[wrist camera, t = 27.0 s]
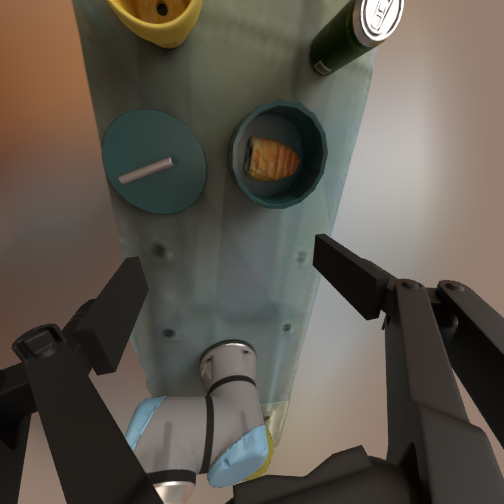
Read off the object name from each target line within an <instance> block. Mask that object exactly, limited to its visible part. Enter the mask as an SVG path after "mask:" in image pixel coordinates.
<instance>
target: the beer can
mask: <svg viewBox="0 0 504 504" xmlns="http://www.w3.org/2000/svg"><path fill="white" fill-rule="evenodd" d="M403 2H404V0H350V1H349V2H348V3H347V4H346V5H345V6H344V7H343V8H342V9H341V10H340V11H339V12H338V14H337V15H336V16H335V17H334V18H333V19H332V20H331V21H330V22H329V23H328V24H327V25H326V26H325V27H324V28H323V29H322V30H321V31H320V32H319V33H318V34H317V36H316V37H315V38H314V40H313V43H312V45H311V51H310V61H311V65H312V67H313V69H314V70H315V71H316V72H317V73H319V74H321V75H330V74H331V73H333V72H335V71H336V70H338V69H340V68H341V67H343V66H345V65H346V64H348V63H350V62H351V61H353V60H355V59H356V58H358V57H360V56H361V55H363V54H364V53H366V52H368V51H369V50H371V49H373V48H374V47H376V46H378V45H379V44H381V43H382V42H384V40H385V39H386V38H387V37H388V36H389V35H390V34H391V33H392V32H393V31H394V30H395V28H396V26H397V24H398V22H399V20H400V18H401V14H402V10H403Z"/></svg>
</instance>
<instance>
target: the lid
mask: <svg viewBox="0 0 504 504" xmlns="http://www.w3.org/2000/svg"><path fill="white" fill-rule="evenodd" d="M102 159H103V165H104V169H105V172H106V174H107V176H108V179H109V180H110V182H111V184H112V185H113V187H114V188H115V189H116V191H117V192H118V193H119V194H120V195H121V196H122V197H123V198H124V199H125V200H126V201H128V202H129V203H131V204H132V205H134V206H136V207H137V208H139V209H142V210H144V211H147V212H151V213H156V214H171V213H176V212H179V211H182V210H184V209H186V208H187V207H189V206H190V205H191V204H193V203H194V202H195V201H196V200H197V198H198V197H199V196H200V194H201V192H202V190H203V188H204V185H205V182H206V176H207V166H206V160H205V155H204V152H203V150H202V147H201V145H200V143H199V142H198V140H197V138H196V137H195V136H194V134H193V133H192V132H191V131H190V130H189V129H188V128H187V127H186V125H184V124H183V123H182V122H181V121H179V120H178V119H176V118H174V117H173V116H171V115H169V114H167V113H164V112H161V111H157V110H151V109H140V110H134V111H130V112H128V113H126V114H123V115H122V116H120V117H119V118H117V119H116V120H115V121H114V122H113V123H112V124H111V126H110V127H109V129H108V130H107V132H106V134H105V137H104V140H103V145H102Z"/></svg>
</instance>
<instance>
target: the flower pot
mask: <svg viewBox="0 0 504 504" xmlns="http://www.w3.org/2000/svg"><path fill="white" fill-rule="evenodd" d="M106 2H107V3H108V5H109V6H110V7H111V9H112V10H113V11H114V13H115V14H116V15H117V17H118V18H119V19H120V20H121V21H122V22H123V23H124V24H125V25H126V26H127V27H128V28H129V29H130V30H131V31H132V32H134V33H135V34H137V35H138V36H140V37H141V38H143V39H145V40H148V41H151V42H153V43H155V44H156V45H158V46H160V47H163V48H175V47H178V46H179V45H181V44H182V43H183V42H184V41H185V39H186V38H187V35H188V33H189V32H190V31H191V29H192V28H193V27H194V25H195V23H196V21H197V19H198V17H199V14H200V10H201V6H202V0H106ZM159 4H164V5H165V6H166V7H167V10H168V11H167V14H166V15H165V16H162V15H160V14H159V13H158V11H157V7H158V5H159Z"/></svg>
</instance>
